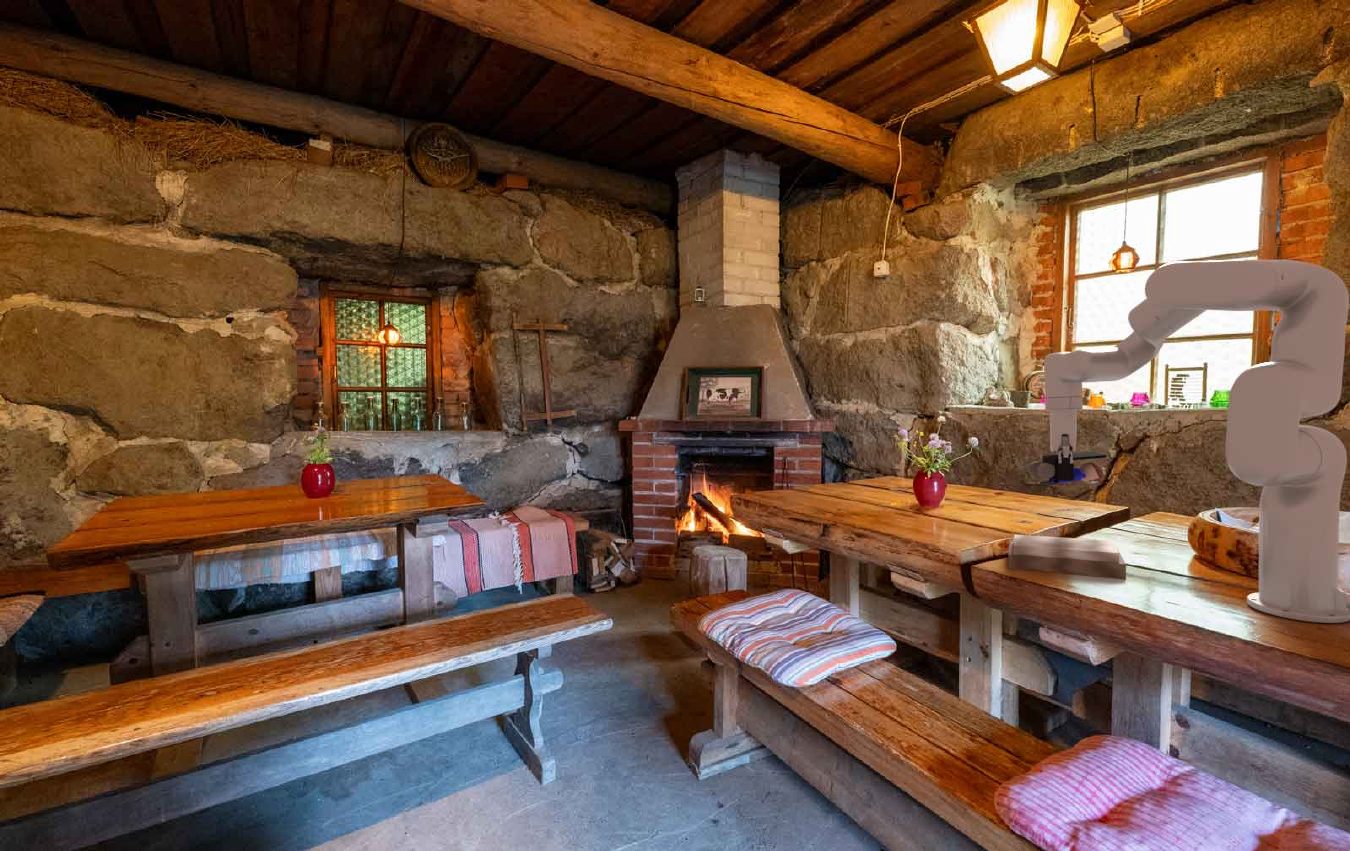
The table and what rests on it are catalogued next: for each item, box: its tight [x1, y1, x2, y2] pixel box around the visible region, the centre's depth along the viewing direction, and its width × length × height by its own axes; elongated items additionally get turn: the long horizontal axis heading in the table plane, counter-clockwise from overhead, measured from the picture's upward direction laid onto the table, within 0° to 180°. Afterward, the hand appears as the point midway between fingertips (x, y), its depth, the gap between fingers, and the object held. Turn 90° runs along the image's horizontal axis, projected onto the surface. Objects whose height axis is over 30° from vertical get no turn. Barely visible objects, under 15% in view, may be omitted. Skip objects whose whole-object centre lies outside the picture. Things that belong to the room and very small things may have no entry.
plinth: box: [1008, 534, 1127, 580], centre depth 136 cm, size 21×13×5 cm, turn 60°
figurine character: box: [1027, 451, 1107, 487], centre depth 146 cm, size 7×8×15 cm
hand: (1064, 477), depth 146 cm, fingers closed on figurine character, 8 cm apart
